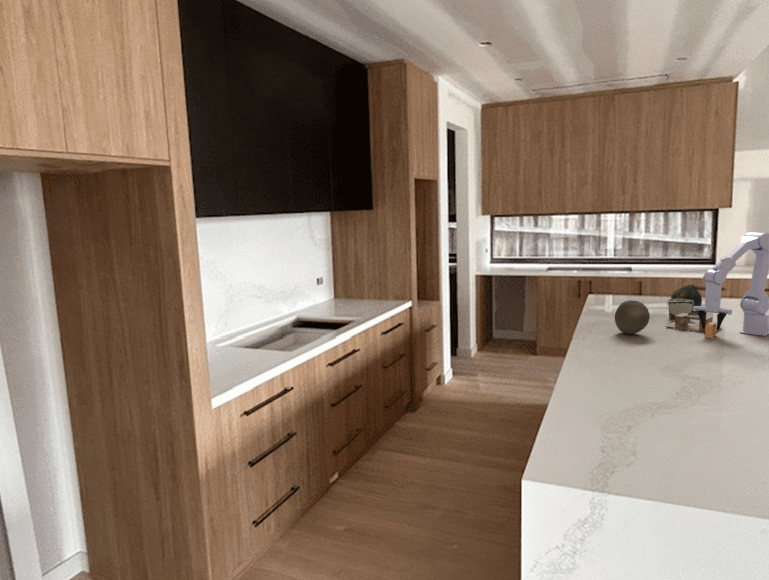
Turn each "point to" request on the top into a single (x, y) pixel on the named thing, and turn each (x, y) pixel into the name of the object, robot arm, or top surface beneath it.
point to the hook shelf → (682, 323)
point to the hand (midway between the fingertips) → (710, 329)
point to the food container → (679, 307)
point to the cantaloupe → (631, 317)
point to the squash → (688, 294)
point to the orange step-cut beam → (710, 330)
